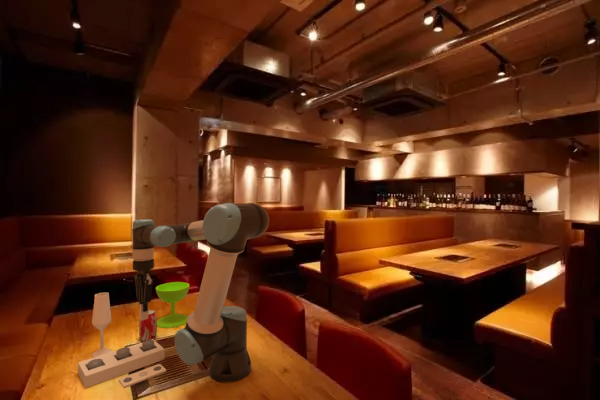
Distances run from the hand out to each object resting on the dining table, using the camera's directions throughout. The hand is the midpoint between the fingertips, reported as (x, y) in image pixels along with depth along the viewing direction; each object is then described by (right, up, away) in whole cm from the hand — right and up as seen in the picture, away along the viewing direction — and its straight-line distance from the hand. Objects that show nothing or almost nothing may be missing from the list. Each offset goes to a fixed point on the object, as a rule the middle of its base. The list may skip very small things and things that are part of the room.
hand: (143, 319), depth 122 cm
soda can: (-7, -16, +18) cm, 25 cm away
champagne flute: (-20, -16, +5) cm, 26 cm away
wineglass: (-4, -16, +37) cm, 41 cm away
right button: (+1, -14, +2) cm, 14 cm away
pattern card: (+5, -16, -11) cm, 20 cm away
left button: (-12, -15, -11) cm, 22 cm away
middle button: (-6, -14, -5) cm, 15 cm away
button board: (-6, -16, -5) cm, 17 cm away
